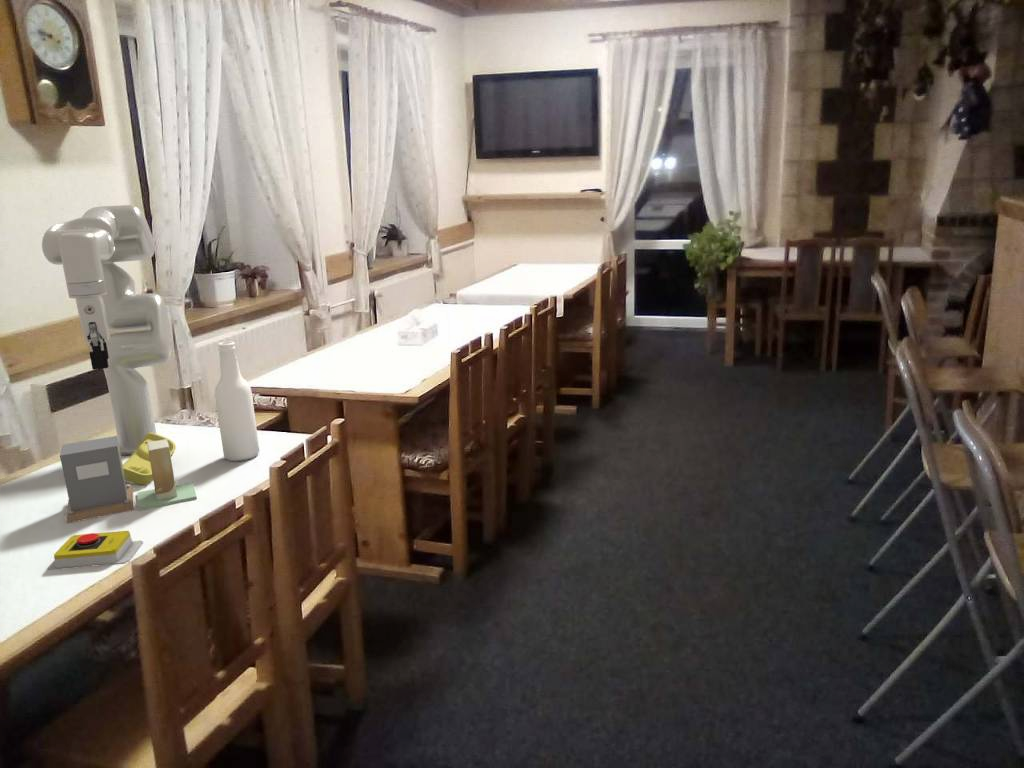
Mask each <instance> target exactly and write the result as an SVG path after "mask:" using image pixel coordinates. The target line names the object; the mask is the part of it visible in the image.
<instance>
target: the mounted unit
mask: <svg viewBox="0 0 1024 768" xmlns="http://www.w3.org/2000/svg"><path fill="white" fill-rule="evenodd" d="M59 458H60V463H61V467H62V468H61V469H62V473H63V479H64V483H65V487H66V492H67V497H68V500H67V507H66V512H65V520H66V523H67V524H70V523H73V522H74V521H75V522H79V520H80V521H85V520H90V519H94V518H93V517H95V518H99V517H98V516H100V517H104V516H109V515H110V516H111V515H115V514H120V513H123V512H124V513H125V512H130V511H134V510H135V509H134V490H133V485H132V484H131V485H130V483H127V481H126V480H125V475H124V469H123V464H124V463H123V459H122V455H121V453H120V448H119V443H118V437H117V435H115V436H114V435H113V436H107V437H101V438H96V439H89V440H83V441H77V442H71V443H65V444H64V443H63V444H62V445H61V448H60V453H59ZM89 518H90V519H89ZM84 519H85V520H84ZM69 522H70V523H69Z"/></svg>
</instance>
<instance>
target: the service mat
mask: <svg viewBox="0 0 1024 768" xmlns="http://www.w3.org/2000/svg"><path fill="white" fill-rule="evenodd" d="M175 485H176V491H177V497H173V498H168V499H162V500H157V498H156V493H155V488H153V489H149V490H143V491H139V492H137V507H138V508H137V509H138V511H143V510H147V509H152V508H157V507H163V506H168V505H172V504H173V505H174V504H177V503H183V502H184V503H185V502H188V501H194V500H197V493H196V490H195V489H196V488H195V485H194V482H193V481H190V482H184V483H179V484H175Z"/></svg>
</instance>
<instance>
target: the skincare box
mask: <svg viewBox="0 0 1024 768" xmlns="http://www.w3.org/2000/svg"><path fill="white" fill-rule="evenodd" d="M147 447H148V452H149V458H150V464H151V469H152V475H153V480H152V482H153V487H154V489H155V493H156V498H157V500H162V499H168V498H173V497H177V491H176V485H177V484H176V481H175V479H176V478H175V474H174V469H173V467H174V466H173V462H172V457H171V455H170V449H169V444H168V441H167V439H164V440H158V441H153V442H148V443H147Z"/></svg>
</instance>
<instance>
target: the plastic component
mask: <svg viewBox="0 0 1024 768" xmlns="http://www.w3.org/2000/svg"><path fill="white" fill-rule="evenodd" d="M164 439H167V441H168V444H169V449H170V455H171V458H172V457H173V456H174V453H175V452H176V451H175V450H176V448H177V446H176V444H175V442H174V441H173V440H172V439H169V438H168V437H166V436H163V435H159V434H158V433H156V434H155V433H152V432H150V433H148V434H147V435H146V436H145V437H144V438H143V440H142V441H141V443H140V444H139V446H138V447H137V449H136V450H135V451H134V453H133V454H132V455H130V457H129V458H127V460H126V461H125V462H124V463H122V464H123V469H124V475H125V480H126V482H129V483H132V484H135V485H139V486H146V485H149V484H151V482H153V475H152V469H151V464H150V458H149V452H148V447H147V443H148V442H153V441H158V440H164Z"/></svg>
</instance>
